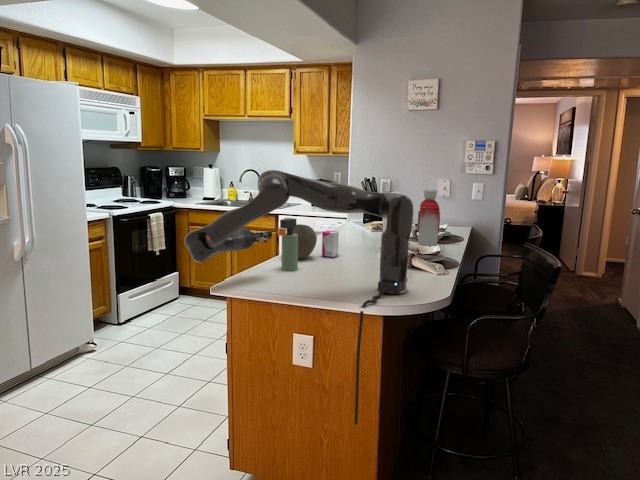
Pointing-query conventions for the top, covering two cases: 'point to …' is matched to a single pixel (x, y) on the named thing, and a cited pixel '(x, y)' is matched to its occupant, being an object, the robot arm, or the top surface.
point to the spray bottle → (289, 245)
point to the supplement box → (330, 244)
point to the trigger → (282, 232)
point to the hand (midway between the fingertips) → (270, 233)
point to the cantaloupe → (305, 240)
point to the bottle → (428, 219)
